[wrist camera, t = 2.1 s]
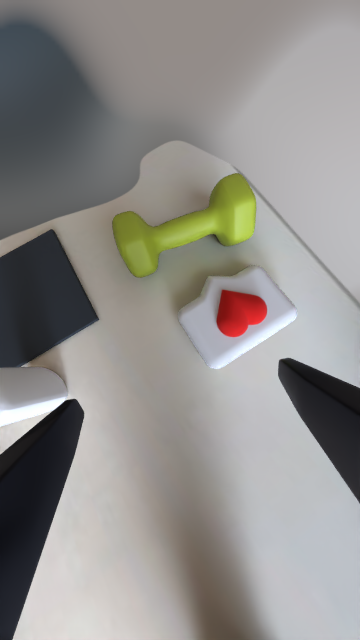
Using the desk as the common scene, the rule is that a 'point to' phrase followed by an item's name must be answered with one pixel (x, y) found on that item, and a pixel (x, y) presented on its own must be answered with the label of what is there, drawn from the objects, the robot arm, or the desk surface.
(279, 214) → the desk surface
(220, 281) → the icon
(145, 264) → the dumbbell
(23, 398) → the eye dropper bottle
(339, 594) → the desk surface
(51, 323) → the mat
